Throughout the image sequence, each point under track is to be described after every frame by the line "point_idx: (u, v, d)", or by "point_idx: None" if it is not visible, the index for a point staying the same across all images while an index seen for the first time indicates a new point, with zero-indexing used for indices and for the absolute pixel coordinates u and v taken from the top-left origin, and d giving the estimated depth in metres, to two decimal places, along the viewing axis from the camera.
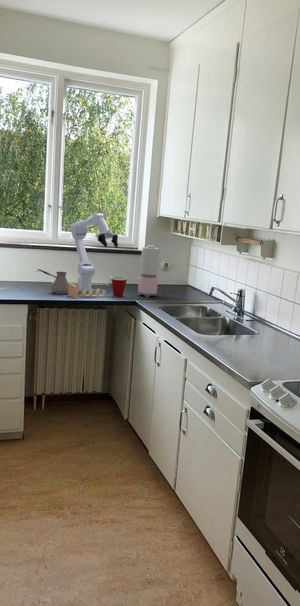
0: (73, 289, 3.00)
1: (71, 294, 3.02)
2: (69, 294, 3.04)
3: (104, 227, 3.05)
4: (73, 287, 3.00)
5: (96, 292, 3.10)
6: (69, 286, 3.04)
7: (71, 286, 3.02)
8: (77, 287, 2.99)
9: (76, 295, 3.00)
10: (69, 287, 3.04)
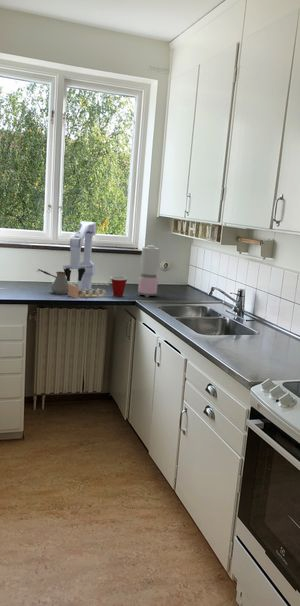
0: (73, 289, 3.00)
1: (71, 294, 3.02)
2: (69, 294, 3.04)
3: (75, 260, 2.96)
4: (73, 287, 3.00)
5: (96, 292, 3.10)
6: (69, 286, 3.04)
7: (71, 286, 3.02)
8: (77, 287, 2.99)
9: (76, 295, 3.00)
10: (69, 287, 3.04)
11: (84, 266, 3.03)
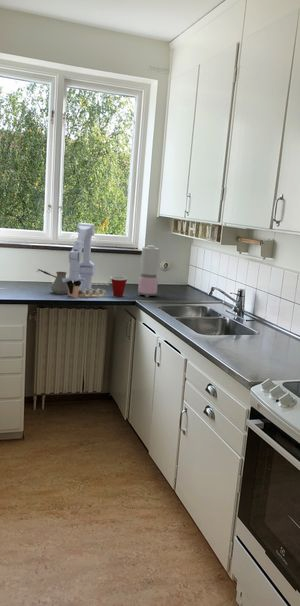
0: (73, 289, 3.00)
1: (71, 294, 3.02)
2: (69, 294, 3.04)
3: (74, 273, 2.98)
4: (73, 287, 3.00)
5: (96, 292, 3.10)
6: None
7: None
8: (77, 287, 2.99)
9: (76, 295, 3.00)
10: None
11: (83, 279, 3.04)
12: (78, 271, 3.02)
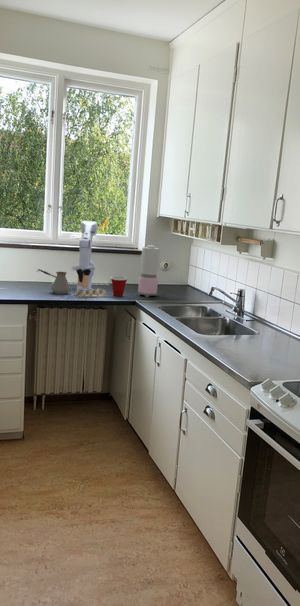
0: (83, 278, 3.03)
1: (81, 284, 3.05)
2: (79, 284, 3.07)
3: (84, 261, 3.00)
4: (83, 277, 3.03)
5: (96, 292, 3.10)
6: None
7: None
8: (87, 276, 3.02)
9: (86, 284, 3.03)
10: None
11: (93, 267, 3.07)
12: None
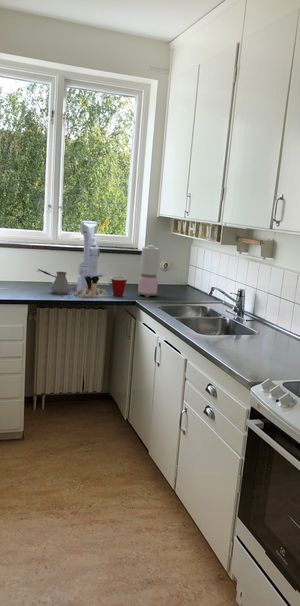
0: (91, 286, 3.08)
1: None
2: None
3: (92, 269, 3.05)
4: (91, 284, 3.08)
5: (96, 292, 3.10)
6: None
7: None
8: (95, 284, 3.07)
9: (94, 292, 3.08)
10: None
11: (101, 274, 3.11)
12: None
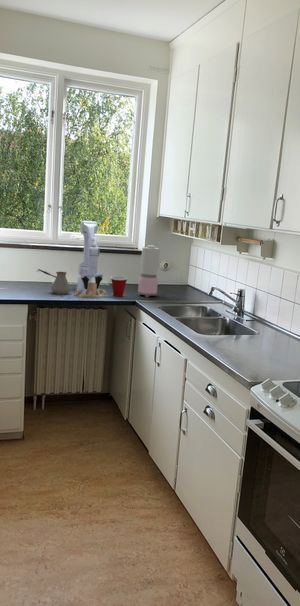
0: (91, 286, 3.08)
1: None
2: None
3: (92, 269, 3.05)
4: (91, 284, 3.08)
5: (96, 292, 3.10)
6: None
7: (89, 283, 3.09)
8: (95, 284, 3.07)
9: (94, 292, 3.08)
10: None
11: (101, 274, 3.11)
12: None
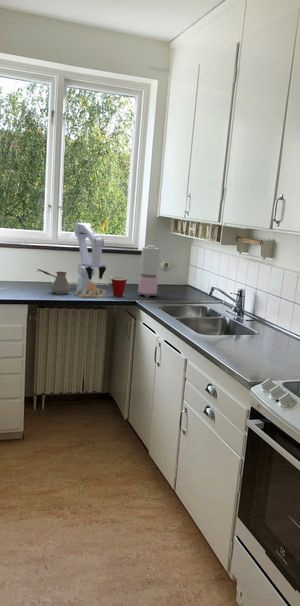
0: (91, 286, 3.08)
1: None
2: None
3: (96, 259, 3.11)
4: (91, 284, 3.08)
5: (96, 292, 3.10)
6: (87, 284, 3.11)
7: (89, 283, 3.09)
8: (95, 284, 3.07)
9: (94, 292, 3.08)
10: (87, 284, 3.11)
11: (105, 265, 3.18)
12: None
